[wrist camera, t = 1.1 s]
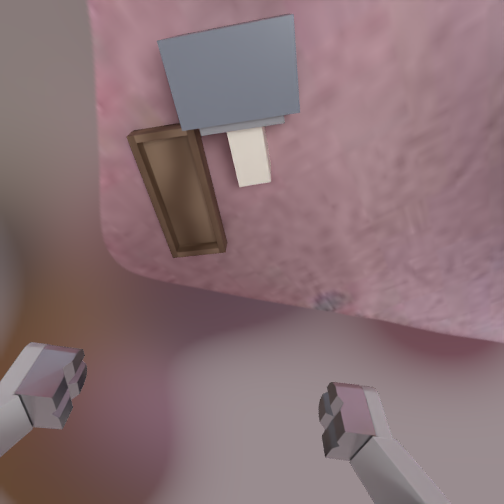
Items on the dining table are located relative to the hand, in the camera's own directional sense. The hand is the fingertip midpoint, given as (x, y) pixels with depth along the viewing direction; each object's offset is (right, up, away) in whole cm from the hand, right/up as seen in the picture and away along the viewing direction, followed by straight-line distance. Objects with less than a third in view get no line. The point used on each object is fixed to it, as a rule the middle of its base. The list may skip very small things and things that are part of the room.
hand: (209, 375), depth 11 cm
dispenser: (0, +20, +17) cm, 27 cm away
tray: (-6, +11, +25) cm, 28 cm away
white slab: (+1, +17, +20) cm, 26 cm away
